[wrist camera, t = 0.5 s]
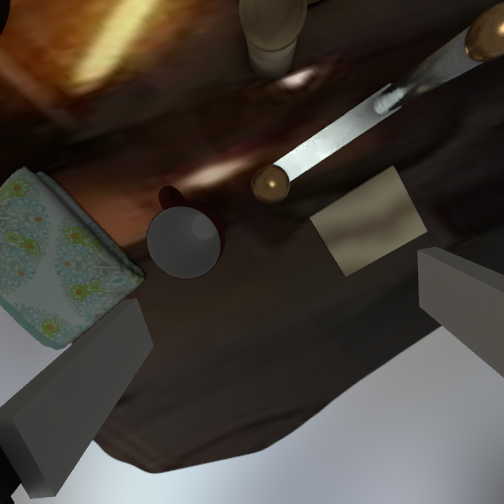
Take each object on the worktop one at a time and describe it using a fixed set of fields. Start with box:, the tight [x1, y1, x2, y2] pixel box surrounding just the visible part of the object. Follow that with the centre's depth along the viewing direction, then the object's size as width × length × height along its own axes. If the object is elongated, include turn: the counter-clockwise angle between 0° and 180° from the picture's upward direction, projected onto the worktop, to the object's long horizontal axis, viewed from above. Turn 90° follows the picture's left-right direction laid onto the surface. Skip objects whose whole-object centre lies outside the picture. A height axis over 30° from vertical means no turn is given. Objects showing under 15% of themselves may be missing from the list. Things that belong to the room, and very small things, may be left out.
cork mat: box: [309, 166, 427, 276], centre depth 36 cm, size 10×12×1 cm
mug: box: [146, 186, 225, 279], centre depth 32 cm, size 10×8×10 cm
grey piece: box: [251, 3, 504, 204], centre depth 25 cm, size 3×19×18 cm, turn 124°
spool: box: [239, 0, 307, 80], centre depth 27 cm, size 6×6×9 cm
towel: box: [0, 167, 144, 350], centre depth 38 cm, size 18×21×5 cm
